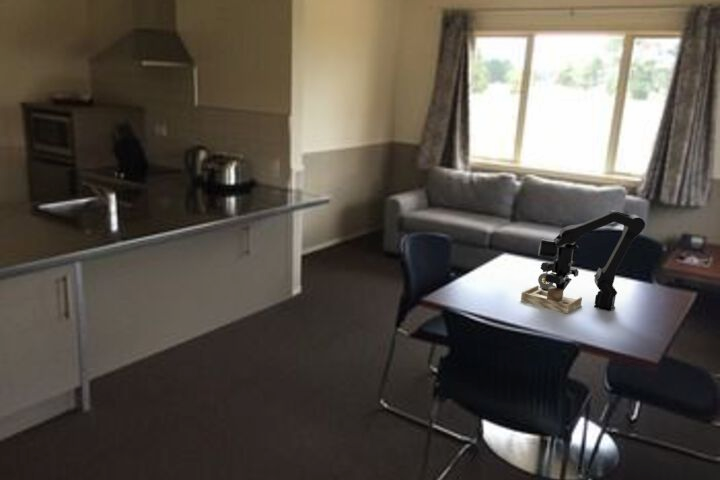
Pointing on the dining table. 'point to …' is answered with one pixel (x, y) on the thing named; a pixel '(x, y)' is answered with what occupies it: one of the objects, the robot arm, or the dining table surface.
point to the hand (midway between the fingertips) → (559, 295)
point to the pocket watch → (542, 285)
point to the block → (555, 294)
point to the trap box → (541, 299)
